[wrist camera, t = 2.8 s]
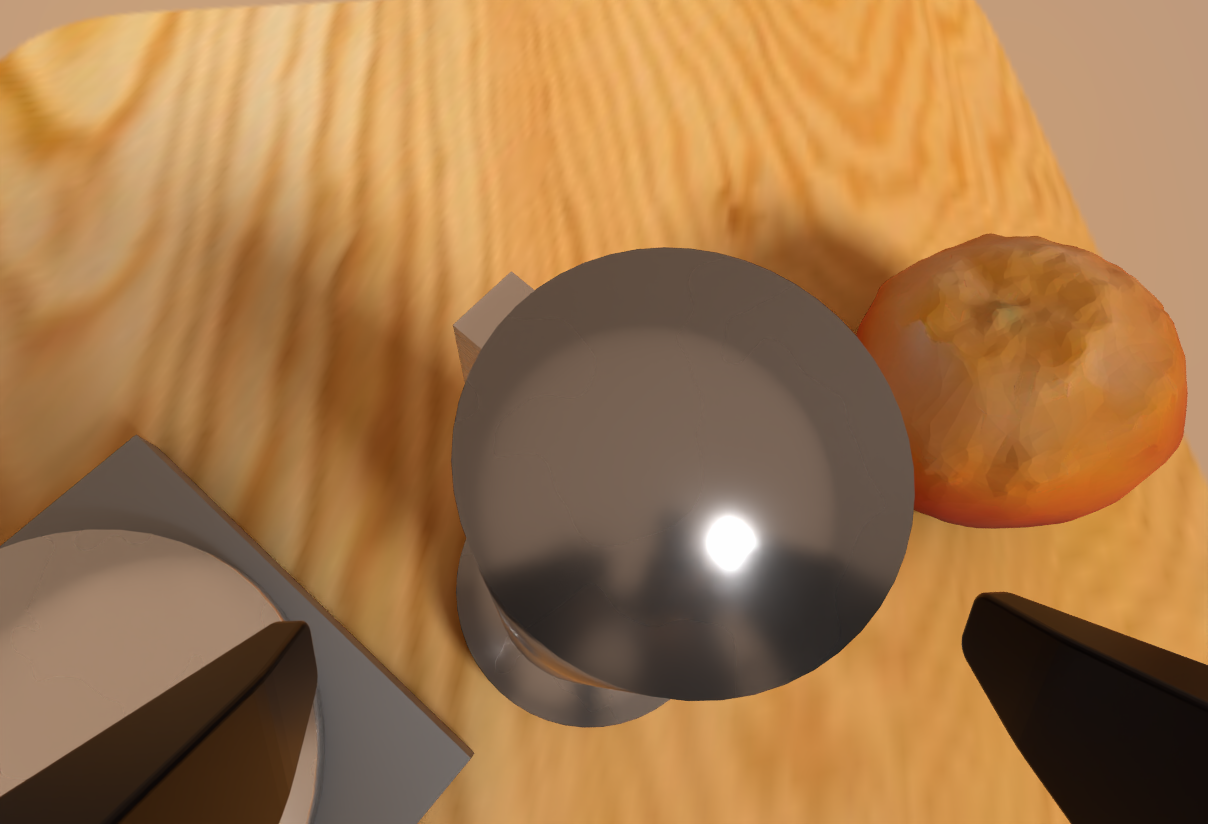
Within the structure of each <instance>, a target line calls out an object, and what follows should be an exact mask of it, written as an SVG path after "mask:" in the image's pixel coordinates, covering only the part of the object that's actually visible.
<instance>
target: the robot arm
mask: <svg viewBox="0 0 1208 824" xmlns="http://www.w3.org/2000/svg"><path fill="white" fill-rule="evenodd" d="M962 650H963V653H964V656H965V658H966V661H967V662H968V664H969V666H970V667H971V669H972V671H973V673H974V674H975V676H976V678H977V680H978V681H979V683H980V685H981V687H982V688H983V690H984V692H985V693H986V695H987V697H988V699H989V700H990V702H991V704H992V706H993V707H994V709H995V711H996V713H997V714H998V716H999V718H1000V720H1001V721H1002V723H1003V725H1004V726H1005V728H1006V730H1007V732H1008V733H1009V735H1010V737H1011V738H1012V740H1013V741H1014V743H1015V745H1016V746H1017V748H1018V749H1019V751H1020V752H1021V754H1022V755H1023V757H1024V758H1025V760H1026V761H1027V763H1028V764H1029V765H1030V767H1031V768H1032V770H1033V771H1034V772H1035V774H1036V775H1037V777H1038V778H1039V780H1040V781H1041V782H1042V784H1043V785H1044V787H1045V788H1046V789H1047V791H1048V792H1049V794H1050V795H1051V796H1052V798H1053V799H1054V801H1055V802H1056V803H1057V805H1058V806H1059V808H1060V809H1061V810H1062V812H1063V813H1064V815H1065V816H1066V817H1067V819H1068V820H1069V822H1070V823H1071V824H1208V665H1206V664H1203V663H1200V662H1198V661H1195V660H1192V659H1189V658H1187V657H1184V656H1181V655H1178V654H1176V653H1173V652H1170V651H1168V650H1165V649H1162V648H1159V647H1157V646H1154V645H1151V644H1148V643H1146V642H1143V641H1140V640H1138V639H1135V638H1132V637H1129V636H1127V635H1124V634H1121V633H1118V632H1116V631H1113V630H1110V629H1108V628H1105V627H1102V626H1099V625H1097V624H1094V623H1091V622H1088V621H1086V620H1083V619H1080V618H1078V617H1075V616H1072V615H1069V614H1067V613H1064V612H1061V611H1058V610H1056V609H1053V608H1050V607H1048V606H1045V605H1042V604H1039V603H1037V602H1034V601H1031V600H1028V599H1026V598H1023V597H1020V596H1018V595H1015V594H1012V593H1008V592H989V593H982V594H979V595H978V596H977V597H976V598H975V600H974V603H973V606H972V608H971V611H970V614H969V617H968V620H967V623H966V626H965V629H964V632H963V635H962ZM317 678H318V673H317V664H316V659H315V653H314V647H313V642H312V636H311V631H310V628H309V625H308V624H307V623H306V622H305V621H278V622H274V623H272V624H270V625H268V626H267V627H265V628H264V629H262V630H260V631H259V632H257V633H256V634H254V635H253V636H251V637H249V638H248V639H246V640H245V641H243V642H242V643H240V644H238V645H237V646H235V647H234V648H232V649H231V650H229V651H227V652H226V653H224V654H223V655H221V656H220V657H218V658H217V659H215V660H213V661H212V662H210V663H209V664H207V665H206V666H204V667H202V668H201V669H199V670H198V671H196V672H195V673H193V674H191V675H190V676H188V677H187V678H185V679H184V680H182V681H180V682H179V683H177V684H176V685H174V686H173V687H171V688H170V689H168V690H166V691H165V692H163V693H162V694H160V695H159V696H157V697H155V698H154V699H152V700H151V701H149V702H148V703H146V704H144V705H143V706H141V707H140V708H138V709H137V710H135V711H133V712H132V713H130V714H129V715H127V716H126V717H124V718H123V719H121V720H119V721H118V722H116V723H115V724H113V725H112V726H110V727H108V728H107V729H105V730H104V731H102V732H101V733H99V734H97V735H96V736H94V737H93V738H91V739H90V740H88V741H86V742H85V743H83V744H82V745H80V746H79V747H77V748H75V749H74V750H72V751H71V752H69V753H68V754H66V755H64V756H63V757H61V758H60V759H58V760H57V761H55V762H53V763H52V764H50V765H49V766H47V767H46V768H44V769H43V770H41V771H39V772H38V773H36V774H35V775H33V776H32V777H30V778H28V779H27V780H25V781H24V782H22V783H21V784H19V785H17V786H16V787H14V788H13V789H11V790H10V791H8V792H6V793H5V794H3V795H2V796H0V824H279V823H280V820H281V817H282V815H283V812H284V809H285V806H286V804H287V801H288V798H289V795H290V791H291V788H292V784H293V780H294V777H295V773H296V769H297V765H298V761H299V757H300V753H301V749H302V745H303V741H304V737H305V733H306V729H307V725H308V721H309V717H310V713H311V709H312V705H313V701H314V697H315V693H316V688H317Z"/></svg>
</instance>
